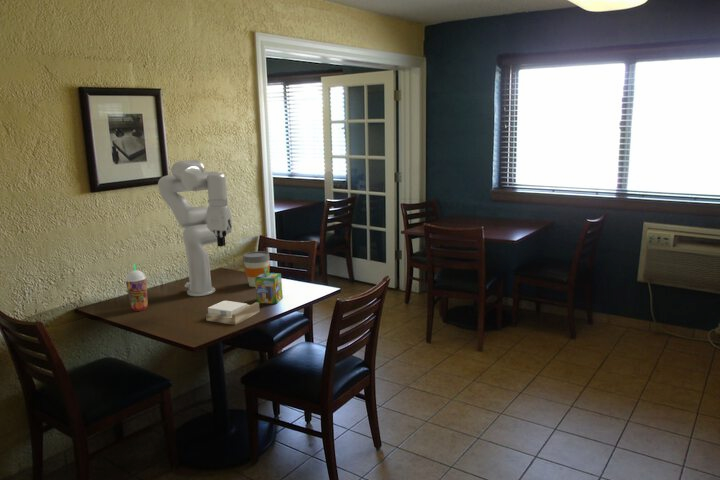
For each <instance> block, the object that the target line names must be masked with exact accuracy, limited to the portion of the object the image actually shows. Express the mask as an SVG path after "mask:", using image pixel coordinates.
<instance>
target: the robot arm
mask: <svg viewBox="0 0 720 480" xmlns="http://www.w3.org/2000/svg"><path fill="white" fill-rule="evenodd" d="M170 172H171V174H168V175H164V176H162V177H160V179H159V180H158V182H157V187H158V192H159V195H160V197H161V198H162V199H163V202H164V203H166V205H167V206H168V207H169V209H170V210H171V212H172V214H173V215H174V217H175V219H176V222H177V223H178V225H179V226H180V227H181V228H182V229H183V231H182V240H183V242H184V247H185V251H186V259H187V269H188V279H189V281H187V282H186V283H185V284H184V288H187V289H188V290H187V291H186V294H187V295H188V296H189V297H204V296H208V295H212V294H214V293H215V292H216V288H215V287H214V286H212V278H211V267H210V266H211V265H210V256H209V254H208V251H207V250H206V249H205V248H204V247H203V246H206V245H213V244H217V247H219V248H221V247H224V246H226V237H227V235H228V234H231V233H232V227H233V223H232V221H233V220H232V214H231V210H230V207H229V205H228V196H227V195H228V193H227V192H228V191H227V180H226V179H227V178H226V175H225V174H224V173H220V172H218V171H205V165H204V163H202V161H201V160H199V159H188V160H178V161H175V162H174V163H173V164H172V165H171V169H170ZM199 191H207V195H208V199H207V203H208V206H204V205H203V206H202V205H200V206H192V205H190V203H189V202H190V201H188V199H187V198H186V197H184V195H181V194H179V193H183V192H199Z"/></svg>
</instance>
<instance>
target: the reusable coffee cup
mask: <svg viewBox="0 0 720 480" xmlns="http://www.w3.org/2000/svg"><path fill="white" fill-rule="evenodd" d="M270 259H271V258H270V252H268V251H263V250H261V251H260V250H259V251H249V252H246V253H244V254H243V261H242V262H244V271H245V276H246V277H247V283H248V286H249V287H252V288H256V285H255V278H256V277H257V276H259V275H260V274H262V273H264V269H265V268H266V267H268V270H269V271H270V268H271V267H270V265H271V264H270ZM266 273H268V271H267V270H266Z"/></svg>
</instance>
